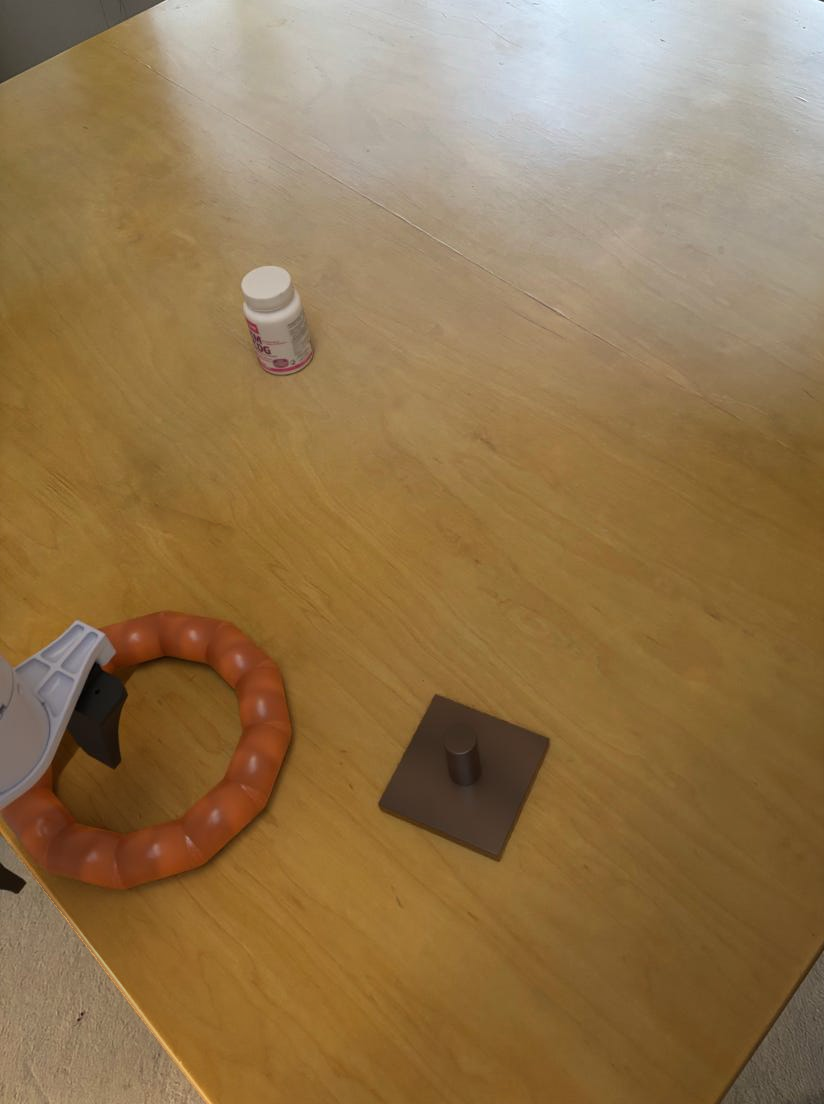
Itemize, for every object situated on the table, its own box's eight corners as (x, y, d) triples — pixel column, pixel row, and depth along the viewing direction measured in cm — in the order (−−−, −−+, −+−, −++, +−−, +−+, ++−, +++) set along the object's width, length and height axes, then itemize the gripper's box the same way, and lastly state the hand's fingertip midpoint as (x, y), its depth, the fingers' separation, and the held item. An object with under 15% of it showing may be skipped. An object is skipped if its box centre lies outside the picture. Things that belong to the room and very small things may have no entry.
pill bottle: (248, 369, 91) (224, 293, 84) (275, 332, 94) (254, 256, 87) (297, 382, 90) (277, 306, 83) (324, 344, 92) (306, 268, 86)
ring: (229, 923, 62) (216, 906, 60) (-44, 856, 65) (-66, 838, 63) (329, 653, 73) (321, 630, 71) (91, 608, 76) (76, 585, 74)
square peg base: (498, 862, 63) (494, 827, 59) (379, 810, 66) (367, 772, 61) (550, 745, 68) (549, 704, 63) (436, 700, 70) (428, 658, 66)
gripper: (0, 549, 53) (92, 680, 64) (-244, 800, 46) (-94, 903, 56) (108, 602, 51) (185, 730, 61) (-131, 877, 43) (4, 970, 54)
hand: (58, 816), depth 59 cm, fingers open, 7 cm apart
